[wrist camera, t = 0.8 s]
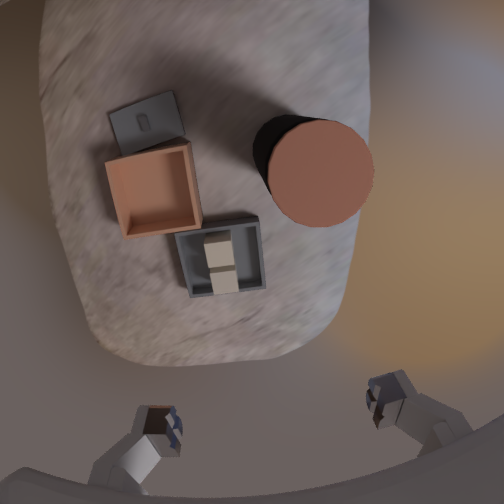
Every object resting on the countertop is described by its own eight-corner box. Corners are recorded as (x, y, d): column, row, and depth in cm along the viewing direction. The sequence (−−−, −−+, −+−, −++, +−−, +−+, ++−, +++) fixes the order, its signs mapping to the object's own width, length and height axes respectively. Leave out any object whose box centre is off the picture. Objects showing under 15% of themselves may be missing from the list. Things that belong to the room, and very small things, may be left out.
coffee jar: (270, 195, 46) (295, 245, 30) (239, 133, 41) (247, 148, 25) (332, 166, 45) (386, 201, 29) (305, 103, 40) (352, 102, 24)
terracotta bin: (115, 157, 41) (104, 162, 37) (190, 141, 41) (186, 145, 37) (131, 228, 47) (123, 239, 43) (203, 217, 47) (200, 228, 43)
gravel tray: (176, 227, 47) (174, 233, 45) (257, 216, 47) (259, 221, 45) (191, 289, 53) (190, 298, 50) (264, 280, 53) (266, 288, 51)
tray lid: (111, 114, 38) (107, 114, 37) (172, 90, 38) (170, 89, 36) (124, 156, 41) (121, 157, 40) (185, 134, 41) (184, 135, 39)
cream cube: (205, 233, 47) (203, 244, 44) (230, 229, 48) (231, 240, 44) (209, 255, 49) (208, 268, 46) (234, 252, 49) (234, 264, 46)
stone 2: (210, 261, 50) (209, 273, 46) (234, 257, 50) (235, 270, 46) (214, 281, 52) (214, 294, 48) (237, 278, 52) (238, 291, 48)
